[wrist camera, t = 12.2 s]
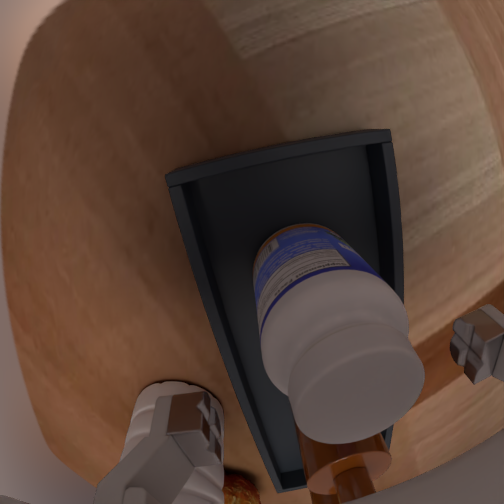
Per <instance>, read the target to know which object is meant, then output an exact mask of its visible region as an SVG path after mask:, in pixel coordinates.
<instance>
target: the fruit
mask: <svg viewBox="0 0 504 504" xmlns="http://www.w3.org/2000/svg"><path fill="white" fill-rule="evenodd" d="M222 492H223V493H224V504H261V502H260V500H259V499H260V498H259V497H260V496H259V492H258V490H257V489H256V488H255V487H254V484H252V483H250V480H247V479H245V478H243V477H242V476H241V475H238V474H229V473H226V471H225V470H224V485H223V488H222Z"/></svg>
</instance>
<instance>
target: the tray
mask: <svg viewBox="0 0 504 504" xmlns="http://www.w3.org/2000/svg"><path fill="white" fill-rule="evenodd" d="M391 141H392V137H391V131H390V129H366V130H359V131H351V132H345V133H338V134H332V135H326V136H320V137H314V138H308V139H303V140H297V141H292V142H287V143H282V144H277V145H272V146H267V147H262V148H258V149H253V150H248V151H244V152H240V153H235V154H231V155H227V156H223V157H219V158H215V159H211V160H207V161H203V162H199V163H195V164H192V165H188V166H184V167H181V168H177V169H175V170H173V171H171V172H169V173H167V174H165V179H166V182H167V186H168V187H169V188H168V190H169V193H170V197H171V201H172V204H173V208H174V211H175V215H176V218H177V222H178V225H179V228H180V232H181V235H182V238H183V242H184V245H185V248H186V251H187V255H188V258H189V261H190V264H191V268H192V271H193V274H194V277H195V280H196V283H197V286H198V289H199V292H200V295H201V298H202V301H203V304H204V307H205V310H206V313H207V316H208V319H209V322H210V325H211V328H212V331H213V333H214V336H215V339H216V342H217V345H218V348H219V350H220V353H221V356H222V359H223V361H224V364H225V367H226V369H227V372H228V375H229V377H230V380H231V383H232V385H233V388H234V391H235V393H236V396H237V398H238V401H239V403H240V406H241V409H242V411H243V414H244V416H245V419H246V421H247V424H248V426H249V428H250V431H251V433H252V436H253V438H254V441H255V443H256V445H257V448H258V450H259V452H260V455H261V457H262V459H263V462H264V464H265V466H266V469H267V471H268V473H269V475H270V478H271V480H272V482H273V484H274V487H275V489H276V491H277V493H282V492H287V491H292V490H297V489H302V488H307V484H306V479H305V474H304V469H303V465H302V460H301V455H300V450H299V446H298V441H297V436H296V431H295V427H294V422H293V417H292V412H291V408H290V403H289V398H288V396H287V395H285V394H284V393H282V392H281V391H280V390H279V389H278V388H277V387H276V386H275V385H274V384H273V383H272V381H271V380H270V378H269V376H268V375H267V373H266V370H265V367H264V364H263V360H262V352H261V345H260V335H259V326H258V317H257V309H256V300H255V292H254V286H253V266H254V261H255V258H256V255H257V253H258V251H259V249H260V248H261V246H262V245H263V243H264V242H265V241H266V240H267V239H268V238H269V237H270V236H272V235H273V234H274V233H276V232H277V231H279V230H281V229H283V228H285V227H288V226H291V225H295V224H303V223H312V224H318V225H321V226H324V227H327V228H329V229H330V230H332V231H334V232H335V233H336V234H338V235H339V236H340V237H341V238H342V239H344V241H345V242H347V243H348V244H349V245H350V246H351V247H352V248H353V249H354V250H355V251H356V252H357V253H358V254H359V255H360V256H361V257H362V258H363V260H364V261H365V262H366V263H367V264H368V265H369V266H370V267H371V268H372V269H373V270H374V271H375V272H376V273H377V274H378V275H379V276H380V277H381V278H382V279H383V280H384V281H385V282H386V283H387V284H388V285H389V286H390V287H391V288H392V289H393V291H394V292H395V293H396V294H397V295H398V296H399V298H400V299H401V301H402V303H403V305H404V264H403V239H402V222H401V209H400V198H399V188H398V180H397V171H396V164H395V156H394V149H393V143H392V142H391ZM393 425H394V424H393ZM393 425H391V426H390V427H388V428H387V429H385V430H383V431H382V432H381V434H382V437H383V439H384V441H385V443H386V446H387V448H388V450H389V448H390V443H391V437H392V431H393Z"/></svg>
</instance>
